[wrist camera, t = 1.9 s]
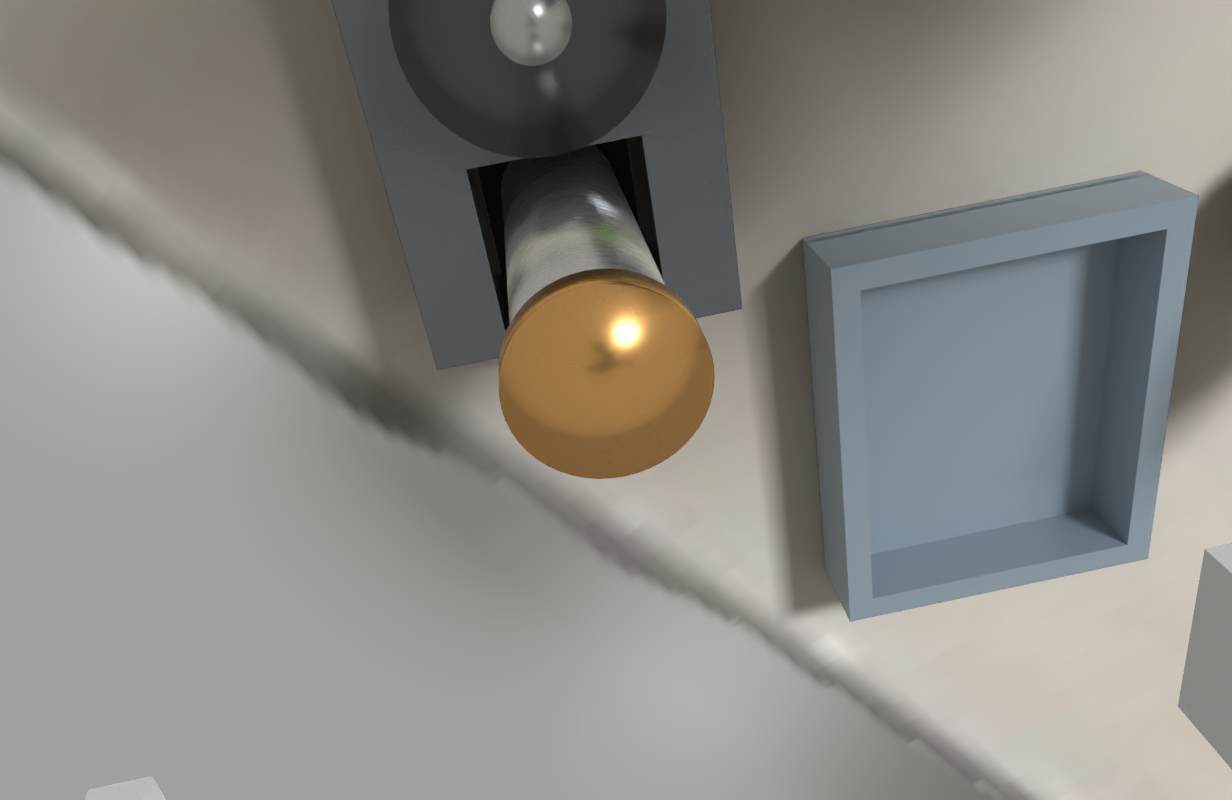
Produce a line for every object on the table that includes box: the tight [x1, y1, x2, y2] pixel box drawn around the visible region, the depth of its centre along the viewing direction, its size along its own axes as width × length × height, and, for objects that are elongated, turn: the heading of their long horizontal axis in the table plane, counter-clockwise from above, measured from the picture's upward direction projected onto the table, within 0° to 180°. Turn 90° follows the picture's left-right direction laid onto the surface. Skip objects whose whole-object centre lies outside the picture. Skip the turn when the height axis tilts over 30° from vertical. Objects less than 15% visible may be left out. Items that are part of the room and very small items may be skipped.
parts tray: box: [803, 171, 1199, 622], centre depth 38 cm, size 16×13×3 cm
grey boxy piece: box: [332, 0, 742, 370], centre depth 28 cm, size 14×10×8 cm
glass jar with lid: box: [499, 145, 714, 479], centre depth 27 cm, size 5×5×15 cm
